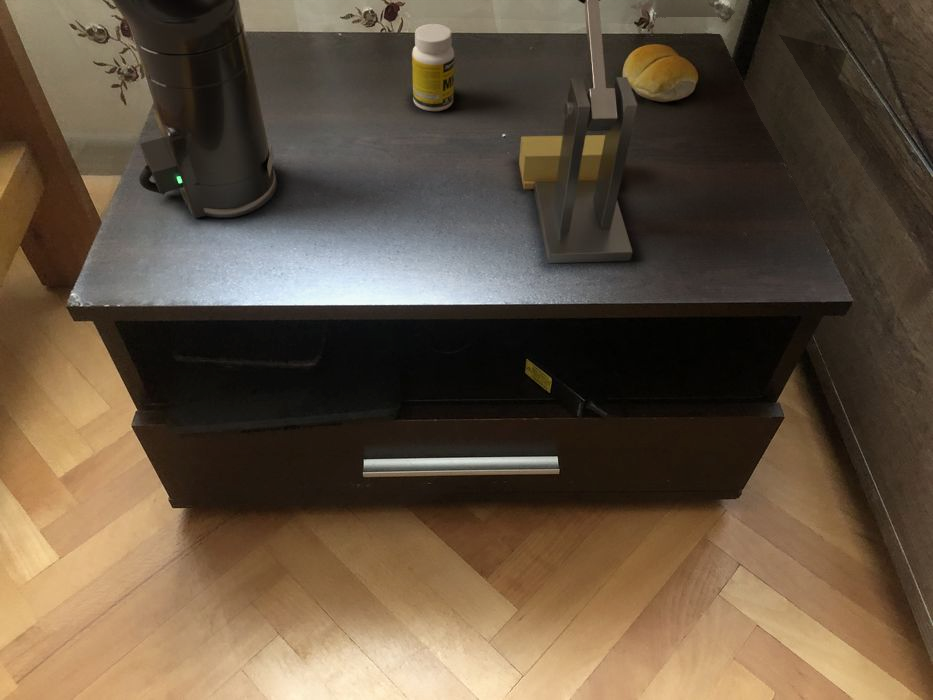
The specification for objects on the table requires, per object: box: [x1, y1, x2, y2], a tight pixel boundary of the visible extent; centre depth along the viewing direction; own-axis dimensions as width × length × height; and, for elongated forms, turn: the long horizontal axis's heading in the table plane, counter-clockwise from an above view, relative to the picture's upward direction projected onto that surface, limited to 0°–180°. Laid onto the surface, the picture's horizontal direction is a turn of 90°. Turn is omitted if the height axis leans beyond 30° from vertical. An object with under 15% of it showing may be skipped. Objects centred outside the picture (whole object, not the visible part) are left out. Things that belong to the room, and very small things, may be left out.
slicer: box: [533, 76, 638, 264], centre depth 72 cm, size 11×8×15 cm
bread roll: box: [622, 43, 699, 103], centre depth 93 cm, size 8×9×4 cm
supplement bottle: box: [411, 23, 455, 112], centre depth 88 cm, size 5×5×8 cm
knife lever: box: [577, 0, 617, 132], centre depth 69 cm, size 15×3×3 cm, turn 4°
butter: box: [518, 134, 605, 190], centre depth 81 cm, size 4×10×4 cm, turn 94°
